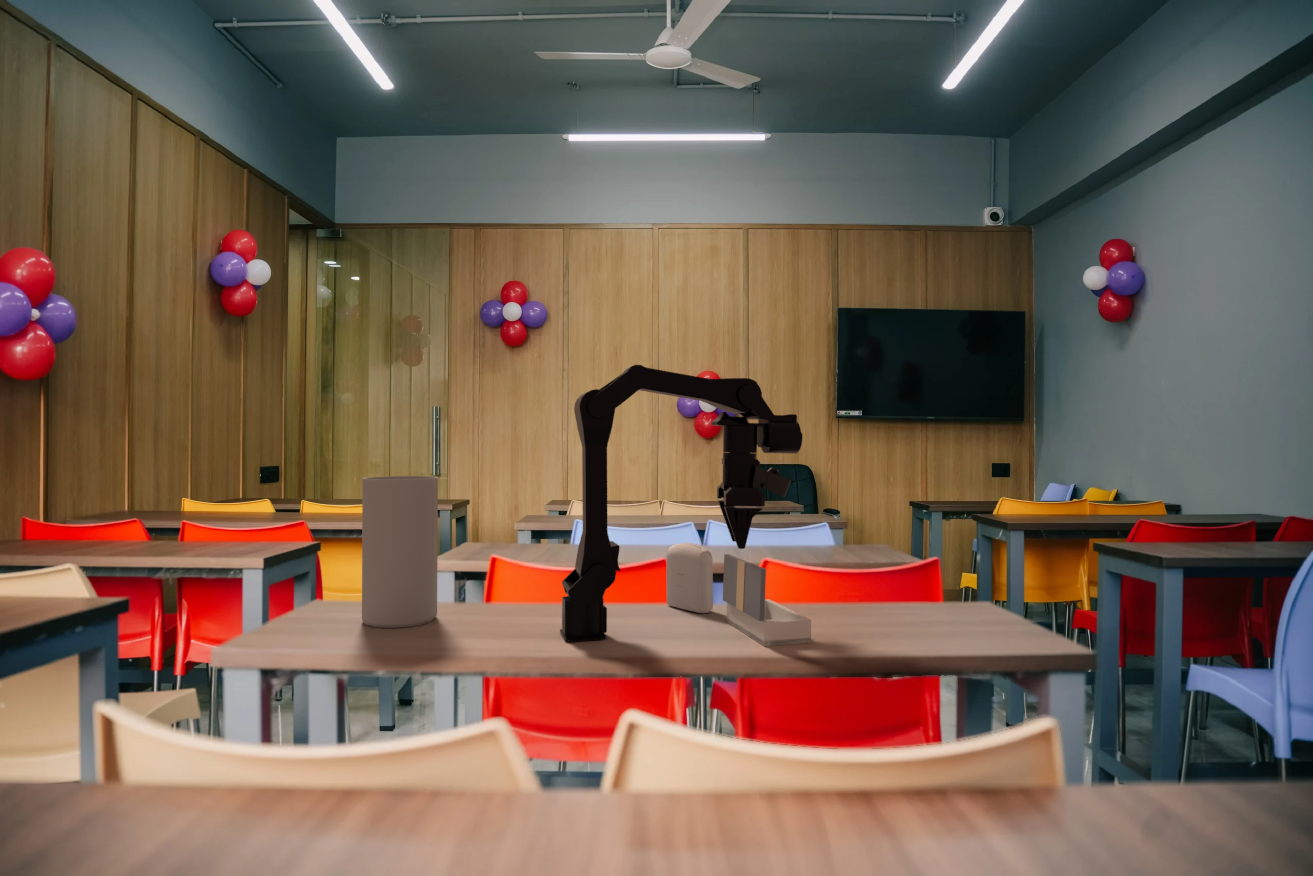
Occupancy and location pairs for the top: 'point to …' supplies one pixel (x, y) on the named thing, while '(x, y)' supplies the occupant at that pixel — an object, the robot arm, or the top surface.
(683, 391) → the robot arm
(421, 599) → the cylinder vase
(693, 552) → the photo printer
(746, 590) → the flap lid
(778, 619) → the storage box
